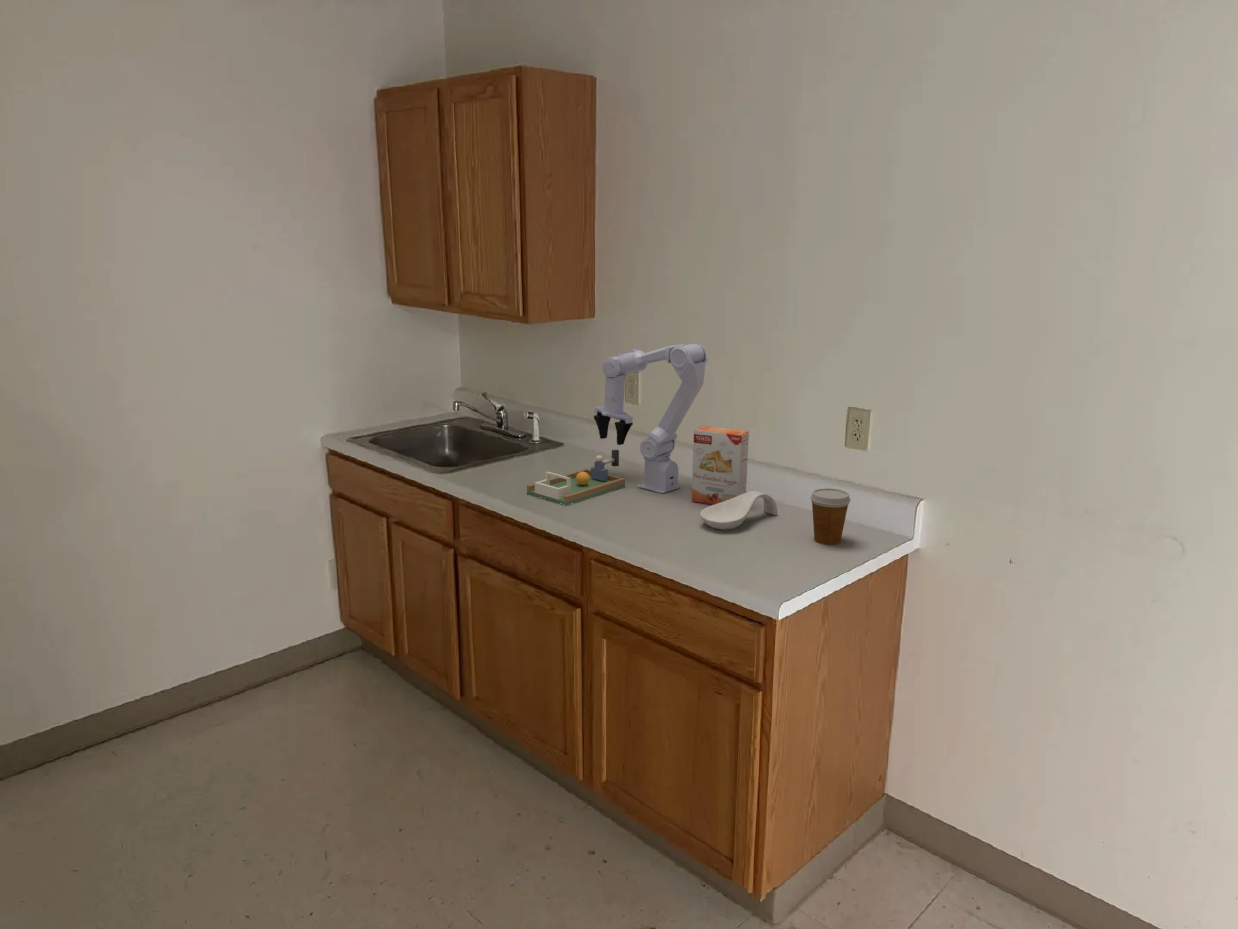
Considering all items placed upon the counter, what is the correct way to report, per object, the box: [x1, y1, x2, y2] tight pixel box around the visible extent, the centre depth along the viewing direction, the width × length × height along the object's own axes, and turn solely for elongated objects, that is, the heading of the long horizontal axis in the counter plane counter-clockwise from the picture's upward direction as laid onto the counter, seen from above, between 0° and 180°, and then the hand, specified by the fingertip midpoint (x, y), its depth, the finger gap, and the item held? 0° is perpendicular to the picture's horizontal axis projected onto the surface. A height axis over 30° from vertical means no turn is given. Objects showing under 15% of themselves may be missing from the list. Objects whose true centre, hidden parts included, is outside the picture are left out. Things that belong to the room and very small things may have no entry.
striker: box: [590, 449, 620, 481], centre depth 266 cm, size 5×9×7 cm, turn 138°
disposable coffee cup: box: [809, 487, 852, 546], centre depth 217 cm, size 10×10×12 cm
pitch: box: [526, 468, 626, 506], centre depth 257 cm, size 16×24×6 cm, turn 138°
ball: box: [576, 472, 590, 485], centre depth 259 cm, size 4×4×4 cm
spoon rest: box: [699, 490, 778, 531], centre depth 231 cm, size 24×12×7 cm, turn 128°
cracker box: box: [691, 425, 750, 506], centre depth 244 cm, size 14×6×21 cm, turn 62°
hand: (611, 441), depth 267 cm, fingers open, 7 cm apart
